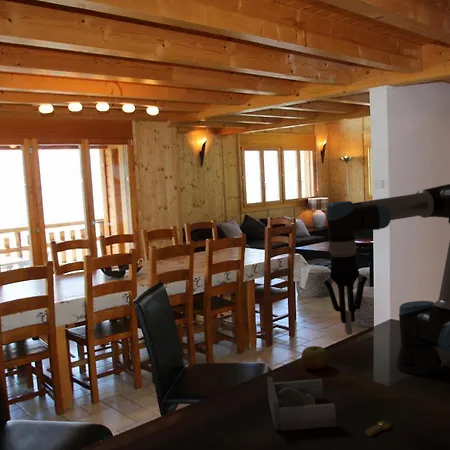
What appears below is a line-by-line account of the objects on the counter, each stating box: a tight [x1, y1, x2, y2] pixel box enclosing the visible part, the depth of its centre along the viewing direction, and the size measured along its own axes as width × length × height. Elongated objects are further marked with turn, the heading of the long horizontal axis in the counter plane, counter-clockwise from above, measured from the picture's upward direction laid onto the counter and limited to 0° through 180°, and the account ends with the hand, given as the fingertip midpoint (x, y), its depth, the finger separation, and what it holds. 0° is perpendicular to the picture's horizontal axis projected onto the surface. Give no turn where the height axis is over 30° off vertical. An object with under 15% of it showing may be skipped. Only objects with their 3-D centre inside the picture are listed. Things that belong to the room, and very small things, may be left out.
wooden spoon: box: [365, 420, 390, 437], centre depth 138 cm, size 8×3×1 cm, turn 126°
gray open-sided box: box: [266, 376, 337, 432], centre depth 151 cm, size 17×19×8 cm
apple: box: [301, 345, 330, 371], centre depth 185 cm, size 10×10×8 cm
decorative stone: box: [279, 388, 316, 407], centre depth 150 cm, size 13×11×10 cm
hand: (348, 332), depth 152 cm, fingers closed
